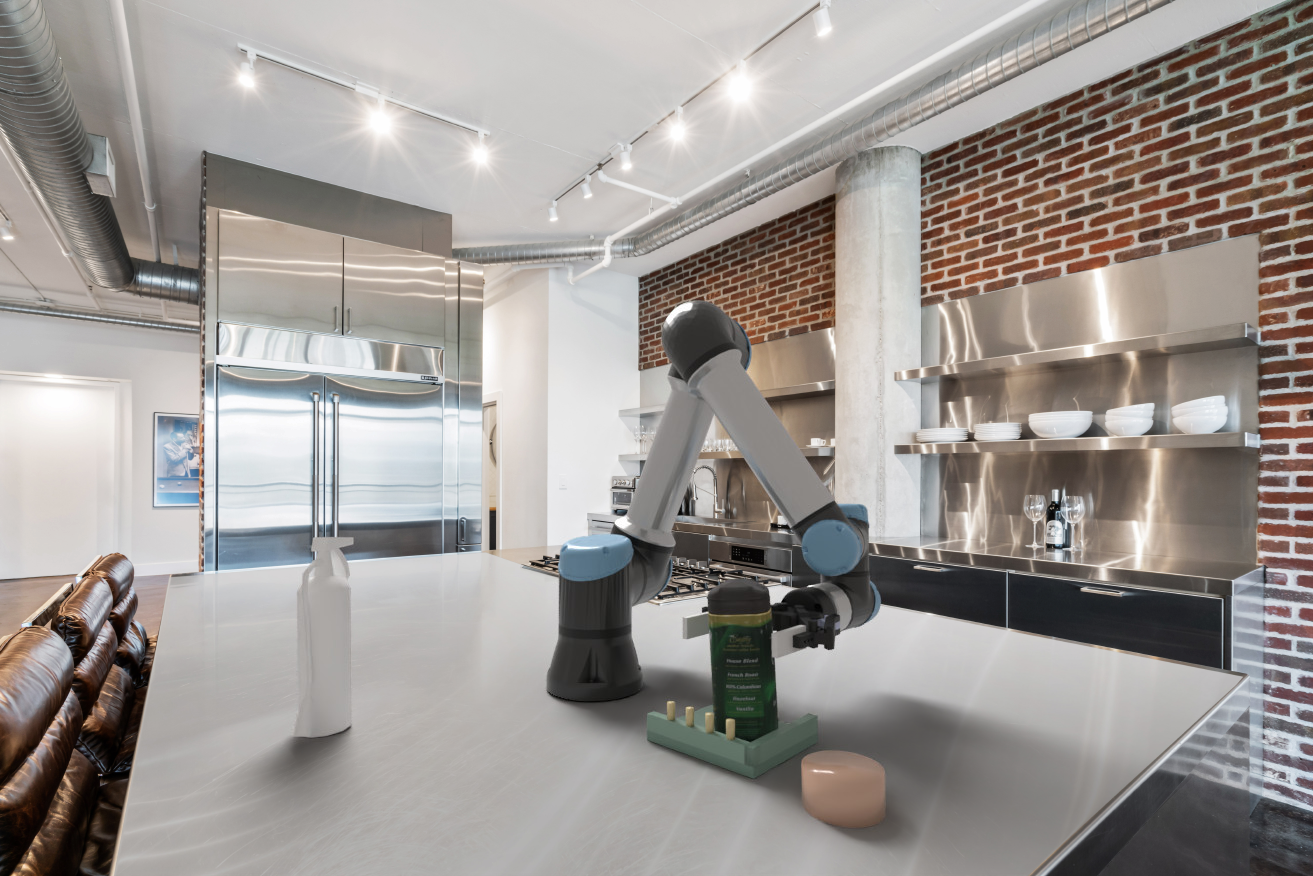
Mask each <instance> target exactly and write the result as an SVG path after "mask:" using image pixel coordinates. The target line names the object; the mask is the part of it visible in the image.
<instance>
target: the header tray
mask: <svg viewBox="0 0 1313 876" xmlns="http://www.w3.org/2000/svg"><path fill="white" fill-rule="evenodd" d="M818 722H819V721H818V715H816V714H814V713H809V712H808V713H807V714H805V715H803V716H801V717H799V718H797V719H794V720H793V721H791V722H789V723H787V722H784V721H780V720H778V729H776V730H774V731H772V732H770V733H768V734H766V735H764V736H762V737H760V738H758V739H756V740H754V741H752V742H748V741H745V740H742V739H738V738H735V720H734V719H726V734H723V733H720V732H717V731H714V713H713V703H712V704H710V705H707V706H704V707H702V708H700V709H697V710H695V708H694V707H693V706H687V707H685V715H681V716H679V717H676V702H675V701H673V700H668V701H666V714H664V713H661V712H658V711H655V710H652V711H651V712H647V714H646V740H647V741H649V742H652V743H655V744H657V745H659V746H663V747H665V748H668V749H671V750H674V751H677V752H679V753H681V754H685V755H686V756H687V755H688V756H690V757H692V758H696V759H699V760H701V761H703V762H707V763H709V764H711V765H713V766H717V767H719V768H724V769H726V770H728V771H731V772H734V773H736V774H739V775H742V776H744V777H747V778H750V779H756V778H757V777H760V776H761V775H763V774H765V773H767V772H768V771H770V770H771V769H773V768H775V767H777V766H778V765H780V764H782V763H784V762H786V761H787V760H789V759H792V757H794V756H796V755H797V754H800V753H802V752H803V751H805V750H807V749H809V748H810V747H812V746H814V745H815V744H817V743H818V742H819V731H818V730H819V729H818V728H819V727H818Z"/></svg>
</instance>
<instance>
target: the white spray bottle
mask: <svg viewBox="0 0 1313 876" xmlns="http://www.w3.org/2000/svg"><path fill="white" fill-rule="evenodd" d="M354 539H355V538H354V537H353V536H352V537H351V536H346V537H345V536H318V537H315V536H314V537H313V538H312V541H311V542H312V544H311V548H310V552H316V559H313V560H312V561H311V562H310V563H309V565H308V566H307V568H306V569H305V570H304V572H303V573H302V576H301V577H302V578H301V583H300V585H299V587H298V589H297V592H296V644H297V645H296V648H297V649H296V652H297V653H296V658H297V659H296V663H297V664H296V665H297V666H296V667H297V671H296V672H297V673H296V676H297V679H296V680H297V681H296V682H297V683H296V684H297V693H296V695H297V702H296V703H297V704H296V705H297V712H296V716H295V720H294V723H293V726H292V731H291V733H290V736H291V737H293V738H299V737H302V738H303V737H304V738H309V739H310V738H319V737H321V738H322V737H328V736H331V735H334V734H338V733H341V732H343V731H345V730H347V729H348V728H350V727H351V726H352V725H353V724H352V723H353V722H352V721H353V719H352V718H353V717H352V715H353V714H352V712H353V711H352V706H353V703H352V702H353V701H352V699H353V698H352V693H353V692H352V603H351V602H352V600H351V598H352V597H351V596H352V591H351V590H352V588H351V587H350V585H349V582H348V580H349V578H350V575H351V573H350V568H349V567H350V566H349V562H348V560H347V558H346V556H345V555H344V553H343V551H342V550H341V549H340V548H344V547H348V546H352V545H354V543H355V542H354ZM313 570H314V571H313ZM312 571H313V572H314V573H313V574H314V575H313V576H311V577H310V574H311V572H312Z"/></svg>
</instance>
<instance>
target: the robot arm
mask: <svg viewBox="0 0 1313 876" xmlns="http://www.w3.org/2000/svg"><path fill="white" fill-rule="evenodd" d="M661 329H662V330H661V336H660V337H661V344H662V349H663V352H664V353H665V356H666V357H667V358H668V360H669V361H670V362H671V365H670V367H669V371H668V373H667V375H666V378H667V381H668V383H669V385H670V388H671V390H670V393H669V396H668V399H667V402H666V405H665V406H664V410H663V413H662V415H661V418H660V420H659V424H658V426H657V429H656V432H655V435H654V437H653V440H652V443H651V446H650V448H649V451H648V454H647V457H646V459H645V462H644V465H643V468H642V471H641V474H640V476H639V478H638V482H637V484H636V488H635V490H634V492H633V495H632V498H631V501H630V503H629V507H628V509H627V513H626V514H625V515H623V516H622V517H619V518H617V519H616V520H614V523H613V525H612V528H611V531H610V533H603V534H591V535H587V536H586V535H583V536H578V537H575V538H571V539H568V540H567V541H565V542H564V543H563V544H562V546H561V548H560V550H559V551H560V552H559V561H558V564H557V565H558V566H557V571H558V634H557V635H558V637H557V642H556V645H555V647H554V650H553V651H554V652H553V655H552V658H551V662H550V666H549V668H548V670H547V672H546V691H547V690H548V691H547V692H548V693H549V692H550V693H551V694H550V693H549V694H550V695H552V694H553V695H552V696H554V695H555V696H554V697H556V696H558V697H557V698H559V697H561V699H563V698H564V700H568V699H569V700H570V701H578V702H604V701H611V700H612V701H613V700H617V699H622V698H628V697H630V696H632V695H634V694H636V693H639V692H640V690H642V688H643V682H644V681H643V675H644V674H643V670H642V669H643V668H642V666H641V665H640V664H639V658H638V654H637V650H636V646H635V644H634V641H633V637H632V636H633V634H632V632H633V631H632V627H633V624H632V622H633V621H632V618H633V617H632V616H633V614H632V613H633V607H636V606H637V605H642V604H644V603H647V602H650V601H652V600H654V599H655V598H656V597H658V596H659V595H660V594H661V593H662V592H663V591H664V590H665V589H666V588H667V586H668V585H669V582H670V581H671V579H672V575H673V567H674V565H673V559H672V554H673V552H674V549H675V547H676V544H677V543H676V539H675V538H674V535H673V533H672V530H673V527H674V524H675V522H676V519H677V517H678V514H679V511H680V508H681V505H682V503H683V500H684V498H685V495H686V492H687V489H688V487H689V484H690V481H691V479H692V475H693V474H694V470H695V468H696V465H697V464H698V463H697V462H698V460H699V456H700V454H701V451H702V448H703V445H704V443H705V440H706V437H707V436H708V433H709V429H710V426H711V424H712V422H713V418H714V416H715V417H716V418H717V421H719V423H720V425H721V426H722V427H723V430H725V432H726V434H727V435H728V436H729V438H730V439H731V441H732V443H733V444H734V446H735V447H736V448H737V450H738V451H739V453H740V454H741V456H742V458H743V459H744V460H745V462H746V464H747V465H748V467H749V468H750V469H751V471H752V472H753V474H754V475H755V477H756V479H757V480H758V481H759V483H760V485H761V486H762V488H763V489H764V491H765V492H766V494H767V495H768V496H769V498H770V499H771V501H772V503H773V504H774V505H775V507H776V508H777V510H778V511H779V513H780V515H781V516H782V518H783V520H785V522H786V524H787V526H788V527H789V529H790V530H791V531H792V533H793V535H794V537H795V538H796V539H797V541H798V543H799V544H800V546H801V552H802V557H803V559H804V561H805V563H806V565H808V567H809V568H810V569H811V570H813V571H814V572H816V573H817V574H819V575H820V583H815V584H811V585H808V586H804V587H799V588H796V589H792V590H790V591H789V592H787V593H786V594H785V595H784V596H783V597H782V599H781V601H780V602H775V603H773V604H771V614H772V625H773V633H772V657H773V658H775V659H780V658H782V657H786V656H788V655H790V654H793V653H796V652H799V651H802V650H805V649H807V648H809V649H810V648H811V649H817V648H818V647H819V645H821V646H823V648H824V649H825V650H827V651H833V650H834V649H835V646H836V643H835V642H836V637H837V636H839V635H840V634H841V632H844V631H847V630H851V629H854V628H855V629H857V628H860V627H861V626H863V625H865V624H867V623H869V622H871V621H872V620H873V619H874V618H876V616H877V615H878V613H879V612H880V609H881V606H882V599H881V594H880V592H879V590H878V588H877V586H876V585H875V584H874V583H873V582H872V581H871V575H870V540H869V539H870V536H869V535H870V533H869V530H870V523H869V513H868V508H867V506H866V505H864V504H861V503H838V502H837V501H836V499H835V498H834V497H833V496H832V494H831V492H830V491H829V490H828V488H827V487H826V485H825V484H824V482H823V481H822V480H821V478H820V477H819V474H817V472H816V471H815V470H814V468H813V467H812V465H811V463H810V462H809V461H808V459H807V458H806V456H805V455H804V453H803V452H802V451H801V449H800V448H799V446H798V445H797V443H796V442H795V440H794V439H793V438H792V436H791V435H790V433H789V432H788V430H787V428H786V427H785V426H784V425H783V423H782V421H781V420H780V418H779V417H778V416H777V414H776V413H775V412H774V410H773V408H772V407H771V406H770V404H769V402H768V401H767V400H766V399H765V397H764V395H763V394H762V393H761V391H760V390H759V388H758V387H757V386H756V384H755V382H754V381H753V379H752V378H751V376H750V375H749V374H748V372H747V371H748V370H749V367H750V365H751V362H752V356H753V353H752V352H753V350H752V343H751V341H750V338H749V337H748V335H747V333H746V330H745V329H744V327H743V325H741V324H740V323H739V322H738V321H736V320H735V319H734V318H732V317H730V315H728V314H727V313H726V312H725V311H724V310H723V309H722V308H720V307H719V306H718V305H716V304H715V303H712V302H710V301H707V300H690V301H686V302H684V303H681V304H679V305H677V306H676V307H675V308H673V310H672V311H671V312H669V314H668V315H667V317H666V319H665V321H664V323H663V327H662V328H661ZM705 635H709V621H708V605H707V606H703V607H701V612H700V613H695V614H692V615H687V616H682V639H683V640H690V639H693V638H697V637H701V636H705Z"/></svg>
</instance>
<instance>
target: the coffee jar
mask: <svg viewBox="0 0 1313 876" xmlns="http://www.w3.org/2000/svg"><path fill="white" fill-rule="evenodd" d="M709 590H710V591H708V594H707V596H706V599H707V607H708V621H709V634H708V635H709V654H710V655H709V656H710V671H711V685H712V687H711V688H712V689H711V690H712V704H713V713H714V731H717V732H720V733H723V734H726V719H734V720H735V738H738V739H742V740H745V741H748V742H752V741H754V740H756V739H758V738H760V737H762V736H764V735H766V734H768V733H770V732H772V731H774V730H776V729H778V721H779V707H778V695H777V678H776V677H777V676H776V675H777V674H776V658H773V657H772V633H774V631H773V625H772V614H771V605H772V604H771V596H770V590H769V588H768V586H766V585H765V584H763V583H762V582H758V580H756V579H754V578H745V577H744V578H742V577H741V578H728V579H725V580H724V581H723V582H722V583H719V584H718V585H716V586H714V587H712V589H709Z"/></svg>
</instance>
